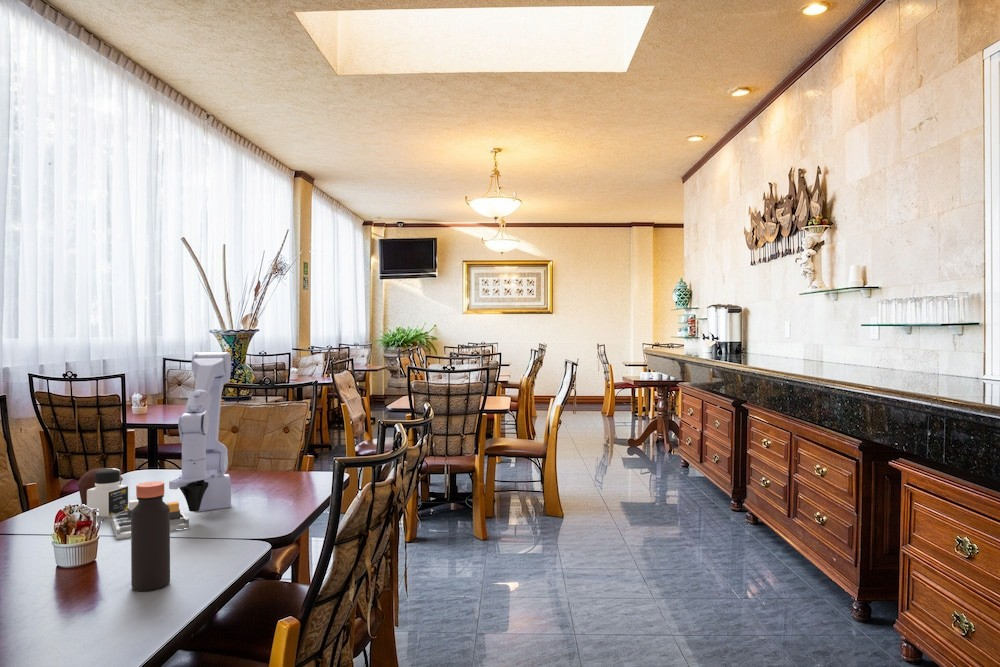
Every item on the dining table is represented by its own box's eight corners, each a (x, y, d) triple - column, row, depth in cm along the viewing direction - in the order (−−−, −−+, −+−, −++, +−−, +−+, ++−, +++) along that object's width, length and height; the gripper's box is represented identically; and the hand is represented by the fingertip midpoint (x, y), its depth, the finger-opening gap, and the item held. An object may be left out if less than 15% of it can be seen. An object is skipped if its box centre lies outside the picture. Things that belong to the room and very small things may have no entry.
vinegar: (129, 594, 129) (129, 489, 129) (133, 582, 135) (132, 482, 135) (169, 588, 132) (168, 486, 132) (170, 577, 138) (170, 479, 138)
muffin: (67, 506, 193) (67, 471, 193) (103, 497, 204) (103, 464, 203) (97, 510, 189) (96, 474, 189) (132, 501, 199) (131, 467, 199)
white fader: (140, 515, 178) (140, 499, 178) (141, 518, 176) (141, 501, 176) (127, 517, 177) (127, 500, 177) (128, 520, 174) (128, 502, 174)
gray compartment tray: (177, 512, 187) (177, 504, 187) (189, 528, 172) (189, 519, 172) (110, 521, 178) (110, 513, 178) (116, 539, 163) (116, 530, 163)
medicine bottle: (109, 517, 182) (108, 472, 182) (86, 516, 183) (86, 471, 183) (128, 510, 189) (128, 467, 189) (106, 509, 190) (106, 466, 190)
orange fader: (178, 518, 176) (178, 501, 176) (180, 520, 174) (180, 503, 174) (165, 519, 174) (165, 502, 174) (167, 522, 172) (167, 505, 172)
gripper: (202, 453, 185) (202, 502, 185) (159, 463, 171) (159, 516, 171) (223, 454, 183) (223, 505, 183) (181, 464, 169) (181, 519, 169)
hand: (194, 511), depth 177 cm, fingers closed
